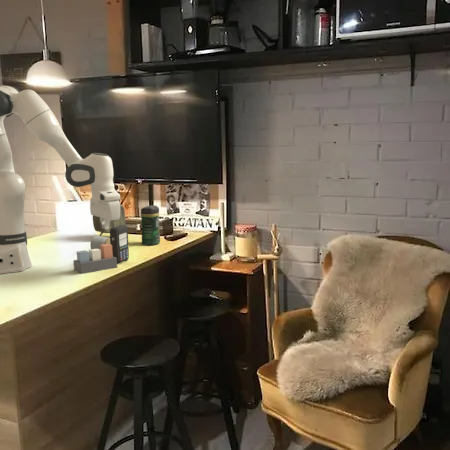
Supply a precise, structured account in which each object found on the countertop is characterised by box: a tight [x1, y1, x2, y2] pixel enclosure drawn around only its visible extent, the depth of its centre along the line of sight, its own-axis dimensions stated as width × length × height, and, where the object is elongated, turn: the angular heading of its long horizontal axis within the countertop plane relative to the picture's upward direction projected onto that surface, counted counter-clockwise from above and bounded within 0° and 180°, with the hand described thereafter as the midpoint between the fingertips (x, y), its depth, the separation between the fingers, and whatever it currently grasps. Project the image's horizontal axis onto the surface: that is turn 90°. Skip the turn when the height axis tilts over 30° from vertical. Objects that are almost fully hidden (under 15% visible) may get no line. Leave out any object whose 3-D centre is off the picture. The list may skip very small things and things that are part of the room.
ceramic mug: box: [90, 235, 110, 250], centre depth 250 cm, size 11×8×8 cm
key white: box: [88, 248, 101, 261], centre depth 219 cm, size 4×4×6 cm
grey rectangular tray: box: [73, 257, 118, 275], centre depth 220 cm, size 15×8×4 cm, turn 127°
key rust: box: [100, 244, 113, 259], centre depth 222 cm, size 4×4×6 cm
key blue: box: [76, 250, 89, 263], centre depth 216 cm, size 4×4×6 cm
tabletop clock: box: [92, 203, 126, 236], centre depth 279 cm, size 14×9×25 cm, turn 133°
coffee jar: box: [140, 204, 161, 246], centre depth 265 cm, size 10×8×19 cm
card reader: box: [109, 224, 130, 265], centre depth 230 cm, size 9×4×15 cm, turn 160°
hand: (105, 228), depth 221 cm, fingers closed
